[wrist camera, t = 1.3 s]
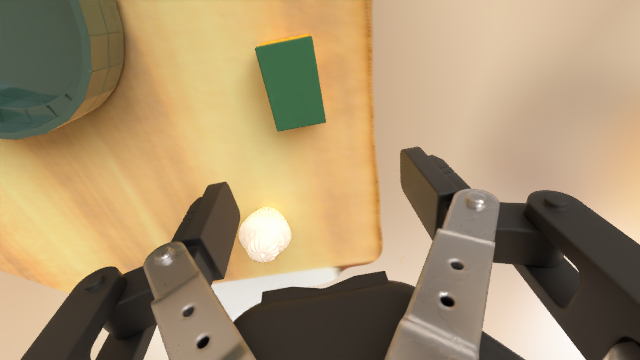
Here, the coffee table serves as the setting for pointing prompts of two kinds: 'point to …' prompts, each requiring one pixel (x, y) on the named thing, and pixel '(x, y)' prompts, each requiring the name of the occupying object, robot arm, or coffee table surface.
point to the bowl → (56, 62)
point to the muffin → (264, 234)
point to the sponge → (292, 81)
